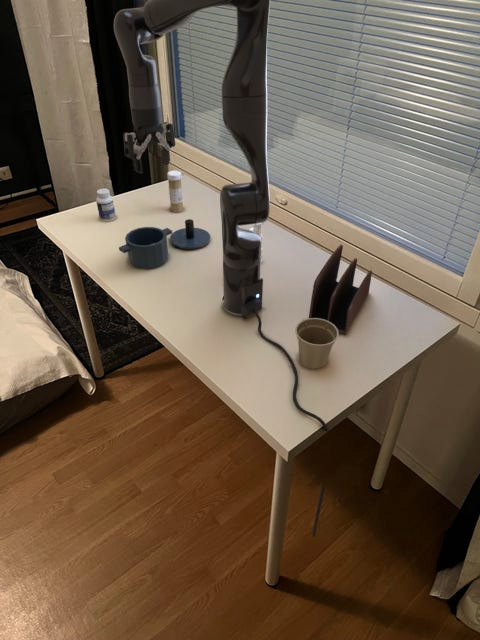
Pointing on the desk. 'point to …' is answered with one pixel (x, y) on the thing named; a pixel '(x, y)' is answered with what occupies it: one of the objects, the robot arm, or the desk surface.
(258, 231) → the koala figurine
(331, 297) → the letter holder
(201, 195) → the desk surface
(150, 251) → the pot
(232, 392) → the desk surface
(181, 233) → the lid
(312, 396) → the desk surface
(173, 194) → the sprinkles bottle
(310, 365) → the flower pot
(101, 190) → the pill bottle
